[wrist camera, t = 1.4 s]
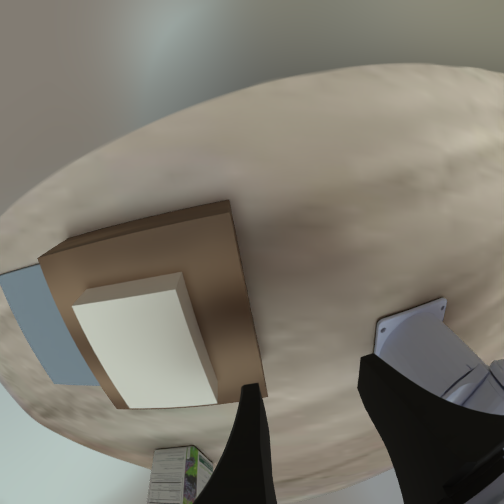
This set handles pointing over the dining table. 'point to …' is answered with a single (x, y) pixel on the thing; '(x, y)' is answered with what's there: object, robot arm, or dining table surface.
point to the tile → (149, 342)
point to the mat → (45, 326)
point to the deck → (161, 263)
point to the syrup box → (178, 475)
